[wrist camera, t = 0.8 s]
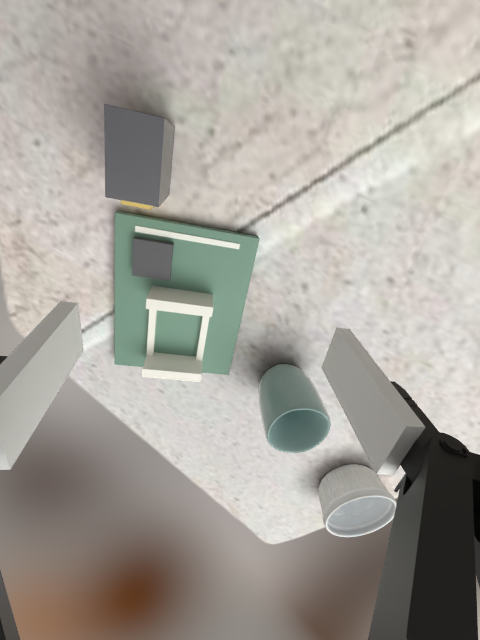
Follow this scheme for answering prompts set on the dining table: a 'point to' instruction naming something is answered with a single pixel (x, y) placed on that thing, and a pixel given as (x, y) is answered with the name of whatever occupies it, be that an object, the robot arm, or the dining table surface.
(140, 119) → the plug
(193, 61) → the dining table surface
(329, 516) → the ramekin
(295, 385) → the cup
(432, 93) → the dining table surface
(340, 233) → the dining table surface
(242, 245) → the board
